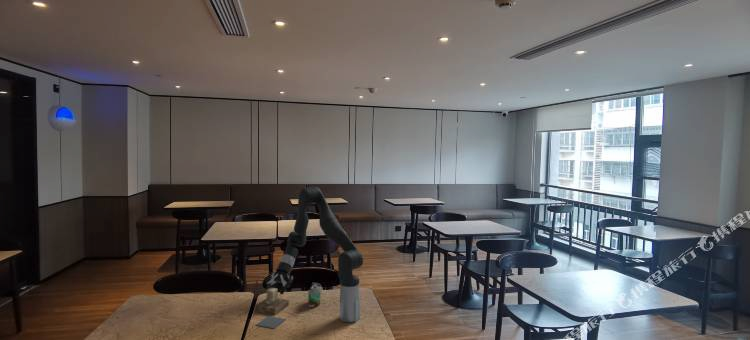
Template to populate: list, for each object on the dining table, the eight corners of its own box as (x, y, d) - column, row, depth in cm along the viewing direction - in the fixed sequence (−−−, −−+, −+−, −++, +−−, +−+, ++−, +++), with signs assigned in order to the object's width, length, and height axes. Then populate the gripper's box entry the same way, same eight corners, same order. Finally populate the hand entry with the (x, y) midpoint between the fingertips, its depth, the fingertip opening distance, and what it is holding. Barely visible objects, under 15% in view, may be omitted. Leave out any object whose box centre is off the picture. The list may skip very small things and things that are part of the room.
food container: (319, 309, 195) (319, 290, 195) (308, 309, 195) (308, 290, 195) (323, 300, 208) (323, 282, 207) (312, 300, 208) (312, 282, 207)
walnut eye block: (288, 305, 200) (288, 299, 200) (275, 314, 189) (275, 308, 189) (269, 302, 204) (269, 296, 204) (255, 311, 193) (255, 305, 193)
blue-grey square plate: (286, 319, 183) (286, 319, 183) (274, 329, 174) (274, 328, 174) (268, 316, 187) (268, 315, 187) (255, 325, 177) (255, 324, 177)
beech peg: (277, 307, 198) (277, 288, 197) (273, 310, 194) (273, 291, 193) (271, 306, 199) (271, 287, 198) (266, 309, 195) (266, 290, 195)
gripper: (271, 259, 207) (259, 287, 197) (294, 262, 203) (282, 291, 193) (277, 266, 213) (265, 294, 203) (299, 269, 208) (288, 297, 198)
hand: (273, 292), depth 198 cm, fingers open, 8 cm apart
